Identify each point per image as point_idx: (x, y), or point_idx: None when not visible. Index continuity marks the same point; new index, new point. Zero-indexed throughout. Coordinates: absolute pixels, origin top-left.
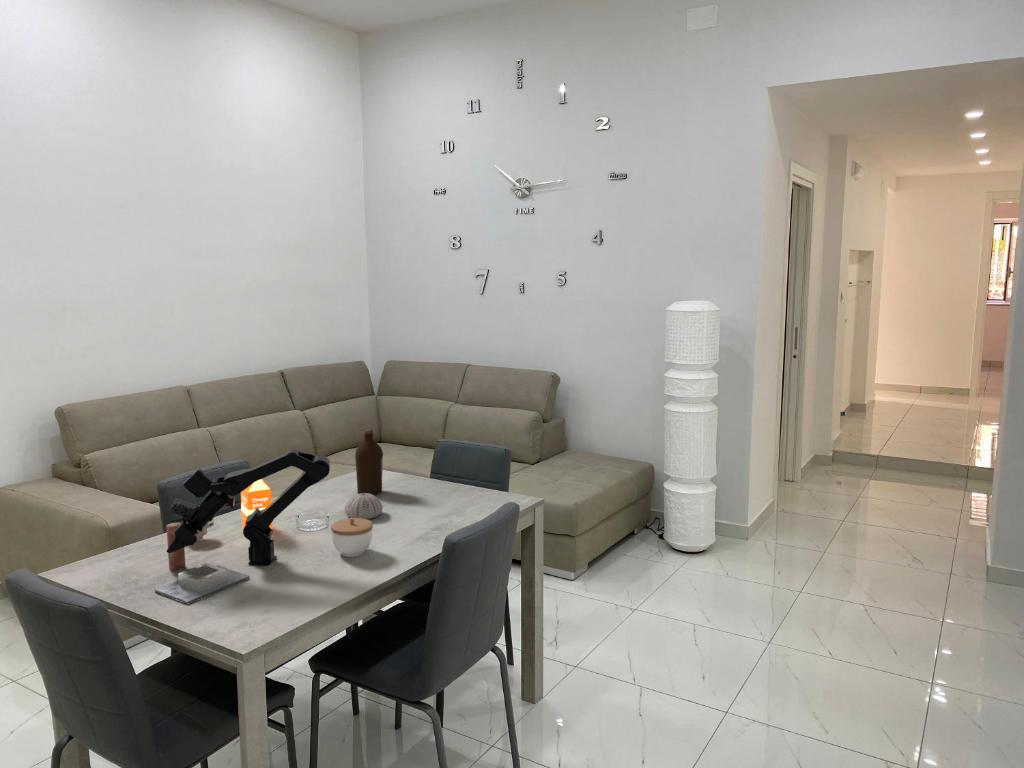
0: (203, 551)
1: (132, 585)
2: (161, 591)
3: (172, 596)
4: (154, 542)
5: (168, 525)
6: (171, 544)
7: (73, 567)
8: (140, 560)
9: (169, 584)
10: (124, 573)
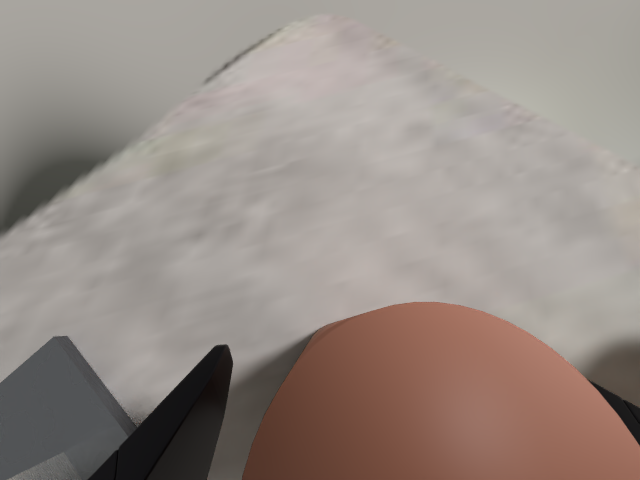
0: None
1: (181, 226)
2: (10, 378)
3: None
4: (616, 182)
5: (428, 341)
6: (141, 428)
7: (371, 39)
8: (427, 185)
9: (87, 395)
10: (305, 169)
